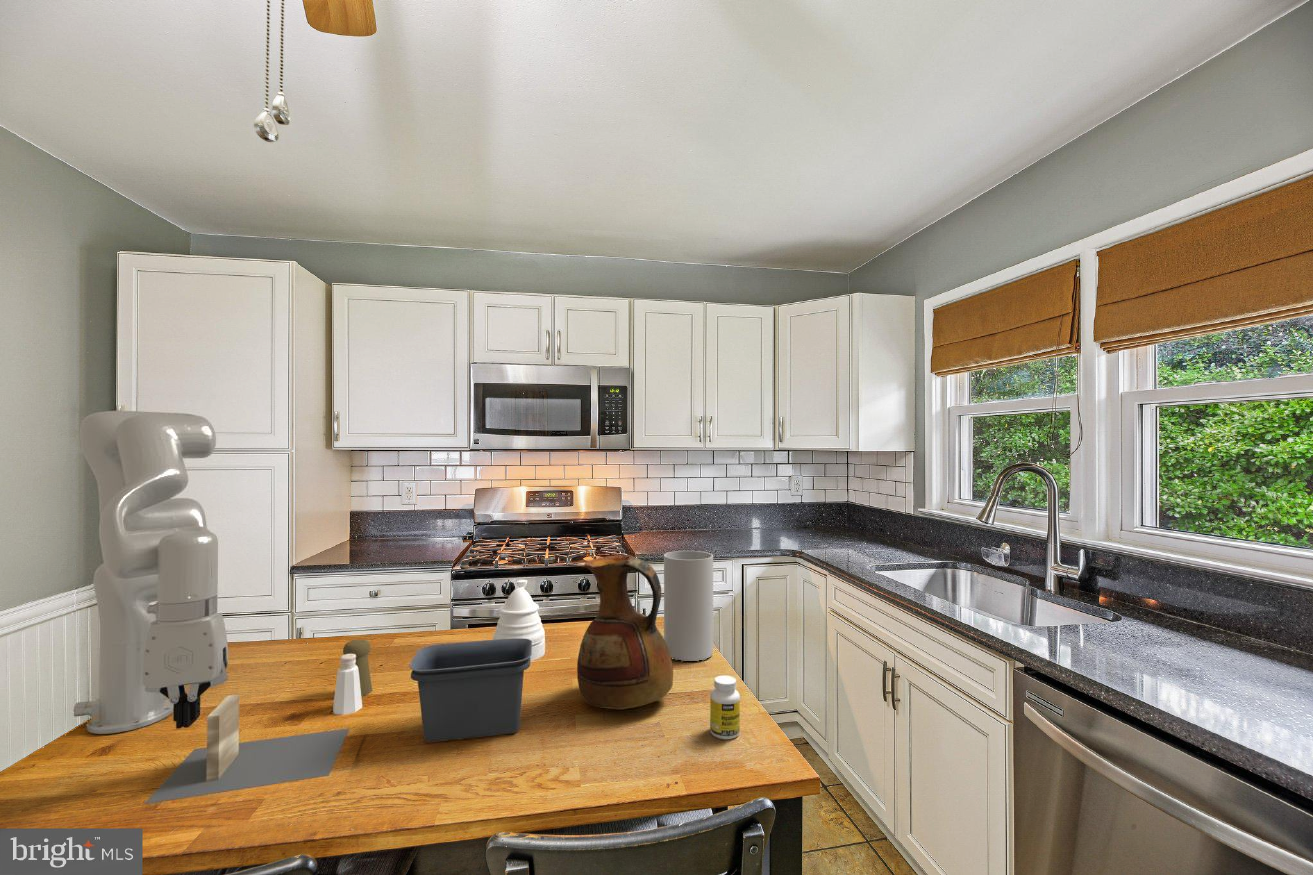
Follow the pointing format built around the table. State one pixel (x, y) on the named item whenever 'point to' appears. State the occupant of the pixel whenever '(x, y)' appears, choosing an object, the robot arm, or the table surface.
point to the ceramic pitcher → (623, 642)
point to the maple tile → (222, 737)
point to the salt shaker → (347, 687)
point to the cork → (361, 662)
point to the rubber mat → (256, 765)
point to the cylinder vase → (688, 604)
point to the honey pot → (521, 620)
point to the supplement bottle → (725, 708)
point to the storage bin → (471, 687)
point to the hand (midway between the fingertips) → (186, 723)
